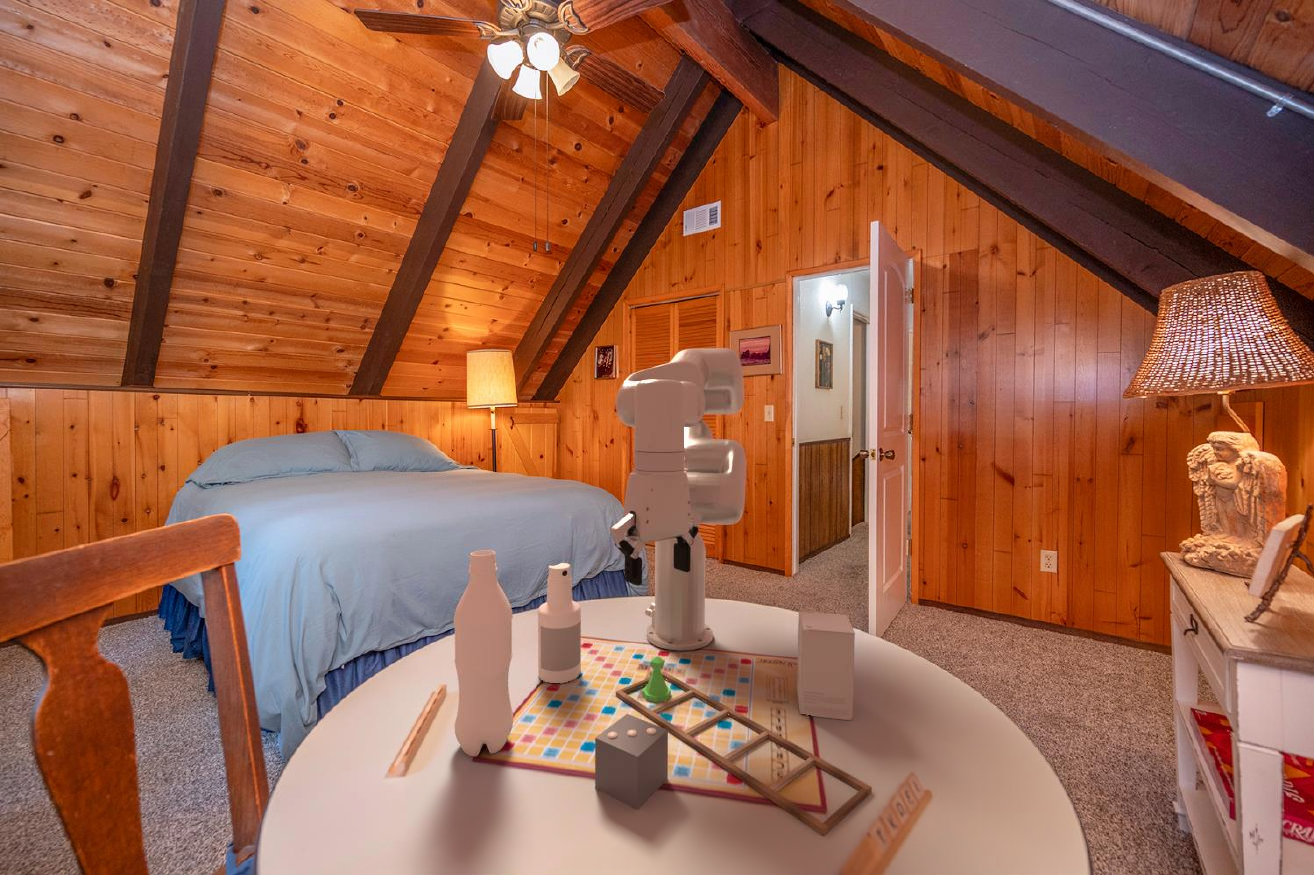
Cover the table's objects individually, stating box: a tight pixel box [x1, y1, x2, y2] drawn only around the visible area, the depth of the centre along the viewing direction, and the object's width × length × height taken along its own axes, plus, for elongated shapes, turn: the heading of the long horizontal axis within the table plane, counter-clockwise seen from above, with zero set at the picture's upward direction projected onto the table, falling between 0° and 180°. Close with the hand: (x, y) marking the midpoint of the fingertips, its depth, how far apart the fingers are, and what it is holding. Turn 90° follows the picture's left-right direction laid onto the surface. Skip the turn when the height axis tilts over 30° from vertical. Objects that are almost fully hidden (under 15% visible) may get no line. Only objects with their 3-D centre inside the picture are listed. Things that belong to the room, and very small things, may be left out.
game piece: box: [641, 656, 672, 703], centre depth 82 cm, size 4×4×6 cm
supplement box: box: [796, 611, 856, 721], centre depth 80 cm, size 7×7×13 cm
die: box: [594, 713, 669, 811], centre depth 63 cm, size 6×6×6 cm
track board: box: [615, 671, 873, 837], centre depth 72 cm, size 36×10×1 cm, turn 41°
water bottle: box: [453, 549, 514, 757], centre depth 69 cm, size 7×7×25 cm
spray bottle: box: [537, 562, 582, 684], centre depth 88 cm, size 7×7×18 cm
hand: (658, 576), depth 82 cm, fingers open, 9 cm apart
